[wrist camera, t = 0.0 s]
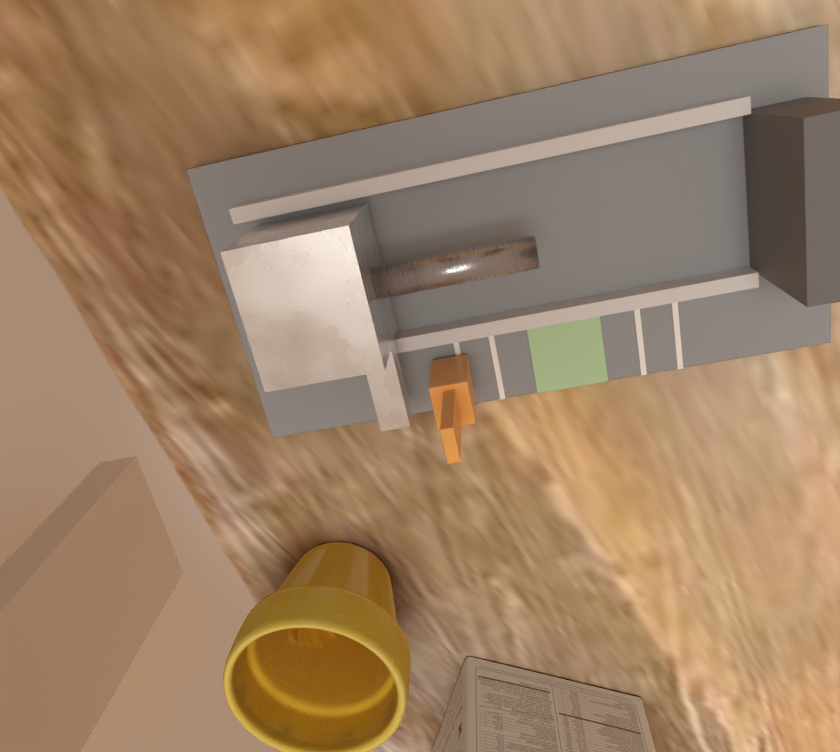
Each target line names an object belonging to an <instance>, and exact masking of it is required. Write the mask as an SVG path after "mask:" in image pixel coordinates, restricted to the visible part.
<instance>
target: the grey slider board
mask: <svg viewBox="0 0 840 752" xmlns="http://www.w3.org/2000/svg"><path fill="white" fill-rule="evenodd" d="M187 173H188V176H189V179H190V182H191V186H192V189H193V192H194V195H195V198H196V201H197V204H198V207H199V210H200V213H201V216H202V220H203V223H204V226H205V229H206V232H207V235H208V238H209V241H210V244H211V247H212V251H213V254H214V257H215V260H216V263H217V266H218V269H219V272H220V275H221V278H222V281H223V285H224V288H225V291H226V294H227V297H228V300H229V303H230V306H231V309H232V312H233V315H234V319H235V322H236V325H237V328H238V331H239V334H240V337H241V340H242V343H243V346H244V350H245V353H246V356H247V359H248V362H249V365H250V368H251V371H252V374H253V377H254V380H255V384H256V387H257V390H258V393H259V396H260V399H261V402H262V405H263V408H264V411H265V415H266V418H267V421H268V424H269V427H270V430H271V433H272V436H273V438H275V437H280V436H286V435H292V434H298V433H304V432H310V431H316V430H322V429H327V428H333V427H339V426H345V425H351V424H357V423H363V422H368V421H374V420H378V418H377V414H376V410H375V406H374V403H373V399H372V395H371V391H370V387H369V383H368V380H367V376H366V374H365V375H359V376H354V377H348V378H342V379H337V380H331V381H326V382H320V383H315V384H309V385H303V386H298V387H292V388H287V389H281V390H276V391H270V392H265V391H264V388H263V385H262V381H261V378H260V375H259V372H258V369H257V366H256V363H255V360H254V356H253V353H252V350H251V347H250V344H249V341H248V338H247V335H246V331H245V328H244V325H243V322H242V319H241V316H240V313H239V310H238V306H237V303H236V300H235V297H234V294H233V291H232V288H231V284H230V281H229V278H228V275H227V272H226V269H225V266H224V263H223V259H222V256H221V253H220V252H221V251H223V250H224V249H225V248H227V247H228V246H230V245H231V244H233V243H234V242H235V241H237V240H238V239H240V238H241V237H242V236H244V235H245V234H247V233H248V232H249V231H251V230H252V229H254V228H255V227H256V226H258V225H261V224H266V223H270V222H275V221H280V220H284V219H289V218H294V217H299V216H303V215H308V214H313V213H317V212H322V211H327V210H331V209H336V208H341V207H346V206H350V205H355V204H360V203H364V202H367V203H368V207H369V211H370V215H371V219H372V223H373V228H374V232H375V236H376V240H377V244H378V249H379V253H380V257H381V261H382V265H387V264H392V263H397V262H402V261H407V260H412V259H417V258H422V257H427V256H432V255H437V254H442V253H447V252H452V251H457V250H462V249H467V248H472V247H477V246H482V245H487V244H492V243H497V242H502V241H507V240H512V239H517V238H522V237H527V236H532V235H534V237H535V241H536V246H537V252H538V258H539V266H540V268H539V269H534V270H529V271H524V272H518V273H513V274H508V275H503V276H498V277H493V278H487V279H482V280H477V281H472V282H467V283H462V284H456V285H451V286H446V287H441V288H436V289H431V290H425V291H420V292H415V293H410V294H405V295H400V296H394V297H390V299H391V303H392V307H393V312H394V316H395V320H396V324H397V330H396V333H395V337H394V340H395V345H396V349H397V353H398V357H399V361H400V365H401V369H402V374H403V378H404V382H405V386H406V390H407V394H408V398H409V403H410V407H411V411H412V414H415V413H421V412H427V411H433V405H432V401H431V397H430V392H429V381H430V373H431V365H432V360H437V359H442V358H448V357H453V356H459V355H464V354H467V357H468V362H469V367H470V371H471V376H472V381H473V386H474V391H475V403H480V402H486V401H492V400H497V399H500V400H502V399H506V398H509V397H515V396H521V395H527V394H533V393H543V392H549V391H554V390H560V389H566V388H572V387H578V386H584V385H590V384H596V383H601V382H607V381H609V380H615V379H621V378H626V377H632V376H638V375H641V376H642V375H647V374H650V373H656V372H662V371H667V370H673V369H683V368H685V367H691V366H697V365H703V364H709V363H714V362H720V361H726V360H732V359H738V358H744V357H750V356H755V355H761V354H767V353H773V352H779V351H785V350H791V349H796V348H802V347H808V346H814V345H820V344H826V343H831V330H830V303H835V302H840V99H835V98H829V88H828V25H821V26H815V27H810V28H806V29H801V30H797V31H793V32H788V33H784V34H779V35H775V36H771V37H766V38H762V39H757V40H753V41H749V42H744V43H740V44H735V45H731V46H727V47H722V48H718V49H713V50H709V51H704V52H700V53H696V54H691V55H687V56H682V57H678V58H674V59H669V60H665V61H660V62H656V63H652V64H647V65H643V66H638V67H634V68H629V69H625V70H621V71H616V72H612V73H607V74H603V75H599V76H594V77H590V78H585V79H581V80H577V81H572V82H568V83H563V84H559V85H554V86H550V87H546V88H541V89H537V90H532V91H528V92H524V93H519V94H515V95H510V96H506V97H502V98H497V99H493V100H488V101H484V102H480V103H475V104H471V105H466V106H462V107H457V108H453V109H449V110H444V111H440V112H435V113H431V114H427V115H422V116H418V117H413V118H409V119H405V120H400V121H396V122H391V123H387V124H382V125H378V126H374V127H369V128H365V129H360V130H356V131H352V132H347V133H343V134H338V135H334V136H330V137H325V138H321V139H316V140H312V141H307V142H303V143H299V144H294V145H290V146H285V147H281V148H277V149H272V150H268V151H263V152H259V153H255V154H250V155H246V156H241V157H237V158H233V159H228V160H224V161H219V162H215V163H210V164H206V165H202V166H197V167H193V168H190V169H187Z"/></svg>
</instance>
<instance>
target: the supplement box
mask: <svg viewBox="0 0 840 752" xmlns="http://www.w3.org/2000/svg"><path fill="white" fill-rule="evenodd" d="M432 752H656V750H655V746H654V742H653V738H652V735H651V731H650V728H649V724H648V720H647V717H646V713H645V709H644V706H643V702H642V700H641V698H640V697H636V696H632V695H627V694H623V693H619V692H615V691H611V690H607V689H603V688H599V687H594V686H590V685H586V684H582V683H578V682H574V681H570V680H565V679H561V678H557V677H553V676H549V675H545V674H541V673H537V672H532V671H528V670H524V669H520V668H516V667H511V666H507V665H503V664H499V663H495V662H491V661H486V660H482V659H478V658H474V657H467V658H466V659H465V662H464V665H463V668H462V670H461V673H460V676H459V678H458V681H457V684H456V686H455V689H454V692H453V694H452V697H451V700H450V703H449V706H448V708H447V711H446V714H445V717H444V719H443V722H442V725H441V728H440V730H439V733H438V736H437V739H436V741H435V744H434V747H433V750H432Z"/></svg>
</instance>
